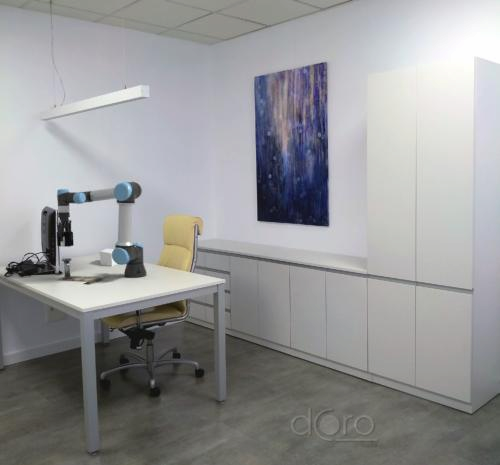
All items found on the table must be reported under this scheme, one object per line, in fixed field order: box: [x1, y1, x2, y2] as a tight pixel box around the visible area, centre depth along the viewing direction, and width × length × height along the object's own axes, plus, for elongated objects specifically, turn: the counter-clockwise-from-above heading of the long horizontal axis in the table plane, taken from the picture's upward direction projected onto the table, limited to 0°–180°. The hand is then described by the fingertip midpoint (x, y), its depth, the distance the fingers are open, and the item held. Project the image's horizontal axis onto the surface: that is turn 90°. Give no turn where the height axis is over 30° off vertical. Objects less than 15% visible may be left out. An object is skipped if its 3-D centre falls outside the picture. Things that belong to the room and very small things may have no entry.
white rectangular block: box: [99, 248, 118, 267], centre depth 423 cm, size 14×29×10 cm, turn 21°
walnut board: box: [56, 275, 104, 285], centre depth 357 cm, size 27×15×2 cm, turn 74°
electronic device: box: [56, 230, 74, 248], centre depth 370 cm, size 4×10×10 cm, turn 77°
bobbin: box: [61, 257, 73, 279], centre depth 358 cm, size 6×6×13 cm
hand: (65, 245), depth 371 cm, fingers closed on electronic device, 4 cm apart
